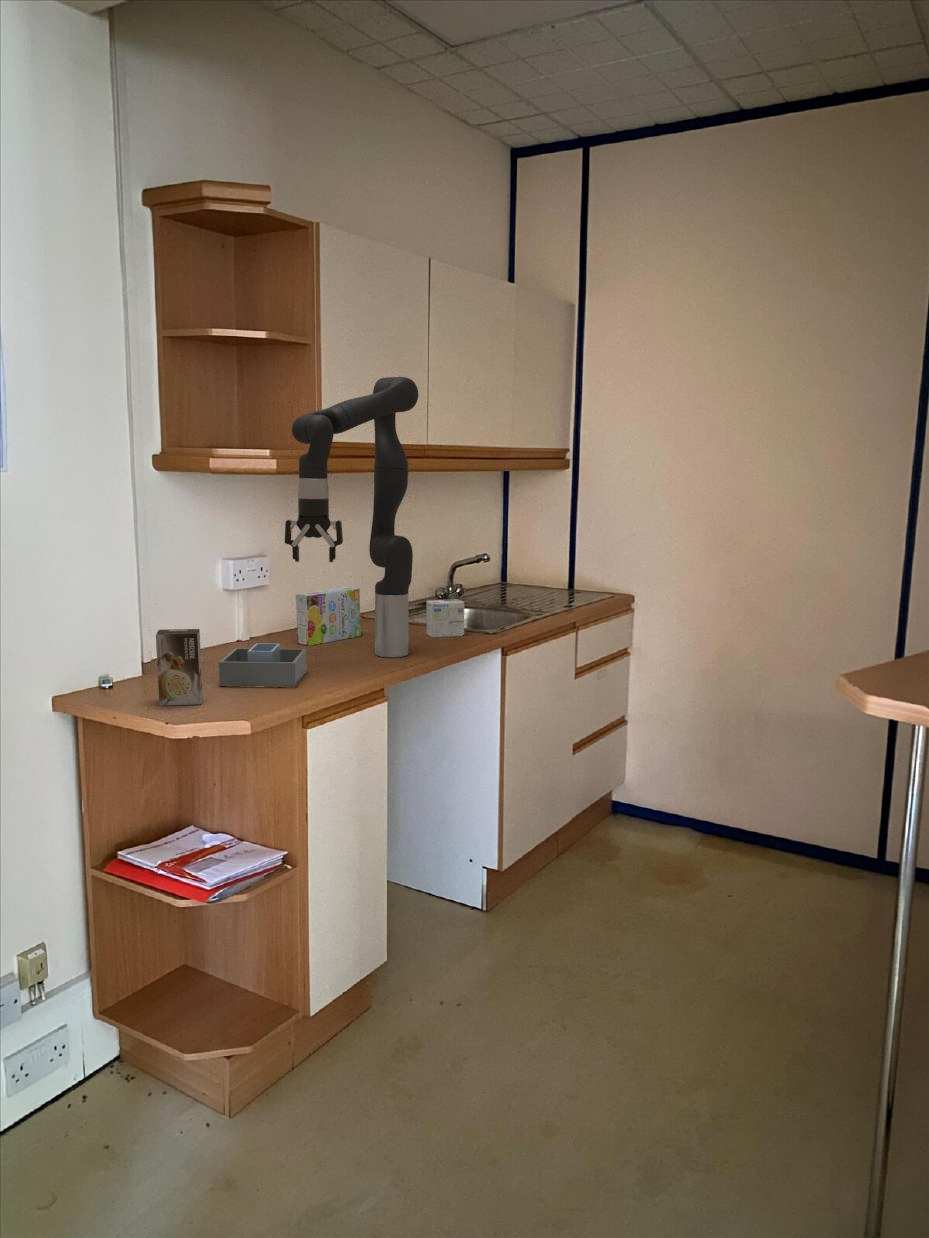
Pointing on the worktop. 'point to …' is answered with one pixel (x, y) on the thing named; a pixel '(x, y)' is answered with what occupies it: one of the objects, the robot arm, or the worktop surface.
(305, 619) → the snack box
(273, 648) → the blue open bin
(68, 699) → the worktop surface
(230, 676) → the charcoal crate
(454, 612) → the light bulb box
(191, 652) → the coffee box
